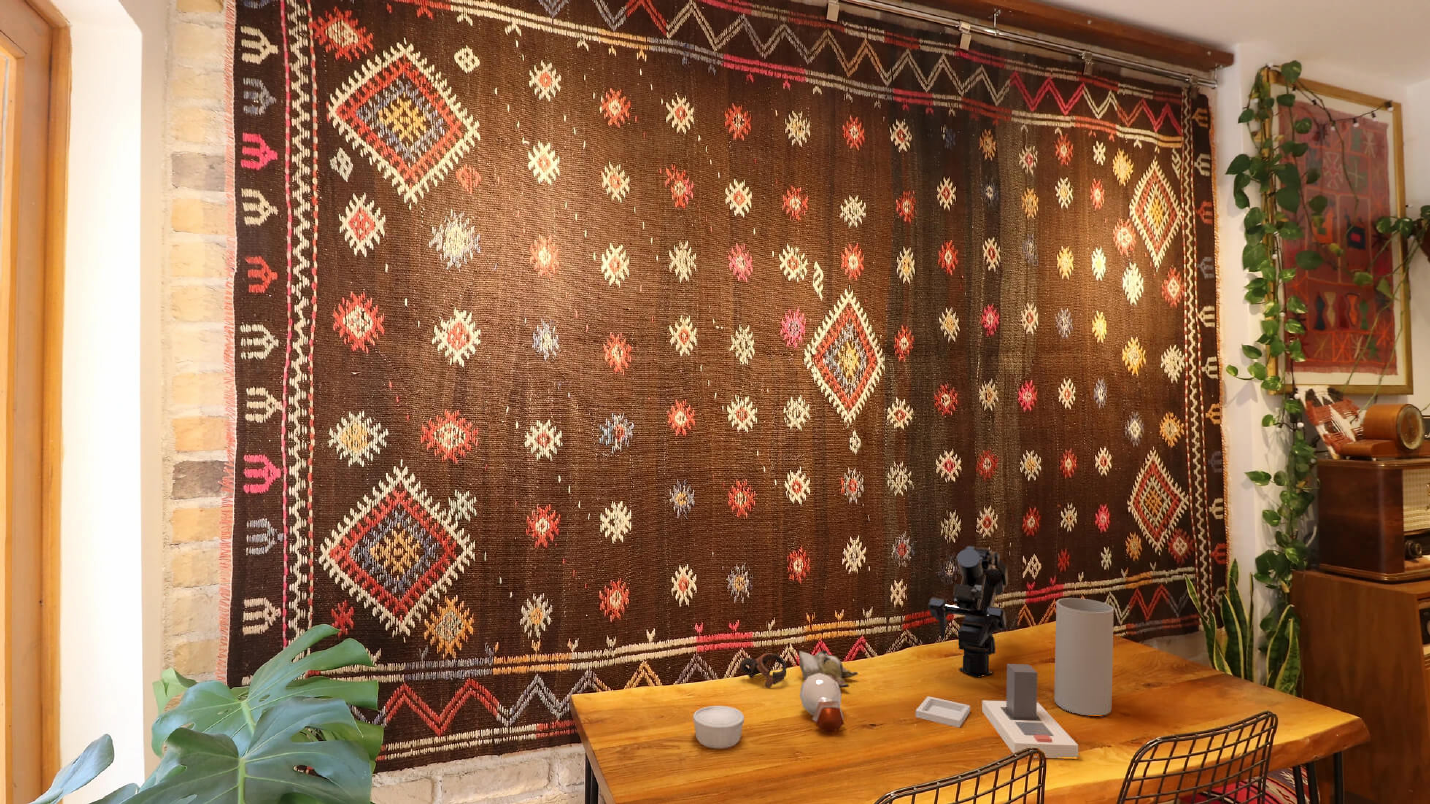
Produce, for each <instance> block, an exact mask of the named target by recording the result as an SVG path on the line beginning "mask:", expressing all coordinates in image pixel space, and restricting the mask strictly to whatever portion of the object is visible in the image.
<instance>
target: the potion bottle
mask: <svg viewBox="0 0 1430 804" xmlns="http://www.w3.org/2000/svg"><path fill="white" fill-rule="evenodd" d="M799 692H800V693H799V698H800V701H801V704H802V708H804V709H805V711H807V712H808V714H810V715H811V716H813V717H812V720H813V721H814V722H816V723H815V725H816V726H817V727H819V728H821V730H823V731H825V733H828V734H829V735H830V734H832V733H833V732H835V731H836V730H837V729H839V728H841V727H842V726H844V724H845V722H844V715H843V711H842V708H841V705H842V704H841V703H842V702H841V701H842V693H841V688H839V685H838V683H837V682H836V681H835V680H834V679H832V678H831V677H830V676H828V675H825V674H822V673H817V674H814V675H811V676H808V678H807V679H806V680H804V682H803V683H802V684H801V686H800V691H799Z"/></svg>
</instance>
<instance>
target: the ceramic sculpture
mask: <svg viewBox="0 0 1430 804" xmlns="http://www.w3.org/2000/svg"><path fill="white" fill-rule="evenodd" d="M798 655H799V658H798V659H799V660H798V661H799V668H800V670H801V673H802V674H801V675H802V678H803V680H804V681H805V680H806V679H807V678H808V676H811V675H814V674H817V673H822V674H825V675H828V676H830V677H831V678H832V679H834V680H835V681H836V682H837V683H838V685H839V688H840V689H844V688H849V687H850V684H848V683H847V682H846V681H845V679H849V678H852V677H855V676H858V674H859V673H858V672H857V671H851V670H849V669H846V667H845V666H844V665H843V662H842V661H841V660H840V659H839V657H837V656H836V655H832V654H829V653H828V651H827V650H821V651H818V652H817V653H816V654H815V655H812V654H810V653H808V652H805V651H802V650H799V652H798Z"/></svg>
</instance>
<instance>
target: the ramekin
mask: <svg viewBox="0 0 1430 804" xmlns="http://www.w3.org/2000/svg"><path fill="white" fill-rule="evenodd" d="M692 718H693V719H692V721H693V724H694V730H695V731H694V732H695V737H696V739H697V741H698V742H699V743H700V744H701V745H703V746H704V747H707V748H710V749H720V750H721V749H728V748H731V747H733V746H735V745H737V744H738V743H739V741H740V740H741V737H742V733H743V731H742V730H743V725H744V723H745V715H744V714H743V713H742V711H740V710H739V709H737V708H735V707H732V706H726V705H725V706H724V705H713V706H712V705H711V706H710V705H709V706H705V707H704V706H703V707H702V708H699V709H697V710H696V711H695V712H694V713H693V717H692Z"/></svg>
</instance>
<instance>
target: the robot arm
mask: <svg viewBox="0 0 1430 804" xmlns="http://www.w3.org/2000/svg"><path fill="white" fill-rule="evenodd" d="M956 560H957V565H958V568H959V572H960V576H962V577H961V583H960V584H957V583H956V584H954V585H953V594H952V597H953V598H954V599H953V602H954V604H956V605H950V604H947V601H946V599H945V598H938V597H933V596H932V597H931V598H930V599H929V600H928V603H927V607H928V610H929V613H930V616H932V618H934V619H935V620H936V621H938V624H939V632H940V633H939V634H940V638H941V640H944V639H945V636H946V629H947V624H948V623H947V622H948V619H947V617H948V614H954V615H957V616H958V615H959V616H964V618H963V621H962V623H961V626H960V627H958V635H957V636H958V637H957V638H958V639H957V640H958V650H963V656H962V667H959V668H958V669H959V671H960V670H961V671H960V672H962V671H963V673H964V672H966V673H965V674H967V673H968V674H967V675H969V674H970V675H969V676H971V675H973V676H972V677H974V676H975V677H974V678H976V677H978V678H980V677H979V676H982V675H987V676H990V675H989V674H992V673H993V674H994V671H991V670H989V669H990V668H989V667H990V665H989V664H990V663H989V662H990V660H989V659H990V656H992V655H994V654H996V641H995V640H996V639H995V637H994V635H993V634H994V632H995V631H999V630H1000V629H1006V625H1007V617H1006V612H1005V610H1004V609H1003V608H1002V607H997V606H994V605H995V604H994V603H995V600H996V597H997V596H998V595H1001V594H1003V593H1004V591H1005V587H1007V586H1008V584H1009V576H1008V575H1009V574H1008V573H1009V572H1008V567H1007V565H1006V564H1005V563H1004V562H1003V561H1002V559H1001V556H1000V552H998V551H996V550H995V551H993V550H991V549H989V548H983V547H981V548H980V547H975V546H972V545H967V546H966V547H965V548H964V549H963V550H961V551H960V552H958V554H957V555H956ZM993 566H995V568H992V567H993ZM991 672H992V673H991ZM993 674H992V675H993Z"/></svg>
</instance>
